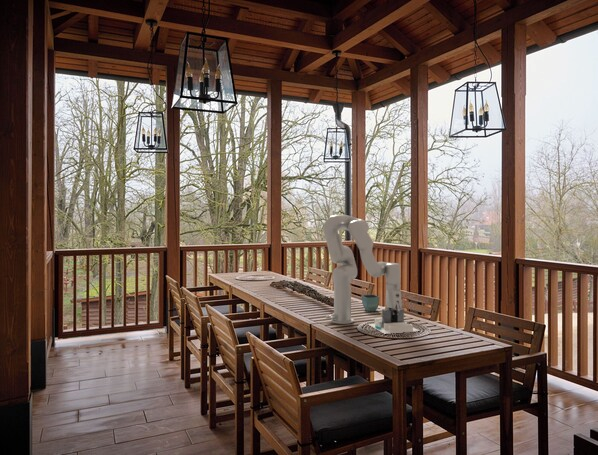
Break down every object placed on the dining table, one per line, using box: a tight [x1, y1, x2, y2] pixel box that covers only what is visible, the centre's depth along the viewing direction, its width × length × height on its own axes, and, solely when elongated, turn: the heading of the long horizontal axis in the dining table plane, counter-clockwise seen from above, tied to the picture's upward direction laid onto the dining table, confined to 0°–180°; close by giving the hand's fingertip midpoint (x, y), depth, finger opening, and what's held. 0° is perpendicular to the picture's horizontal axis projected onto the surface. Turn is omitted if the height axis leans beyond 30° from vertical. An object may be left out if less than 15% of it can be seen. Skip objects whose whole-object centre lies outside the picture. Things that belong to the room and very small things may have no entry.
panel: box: [381, 307, 405, 325], centre depth 247 cm, size 11×3×8 cm, turn 106°
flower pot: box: [361, 294, 380, 312], centre depth 291 cm, size 9×9×9 cm
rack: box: [367, 317, 420, 334], centre depth 247 cm, size 20×20×4 cm
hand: (392, 320), depth 247 cm, fingers open, 3 cm apart
